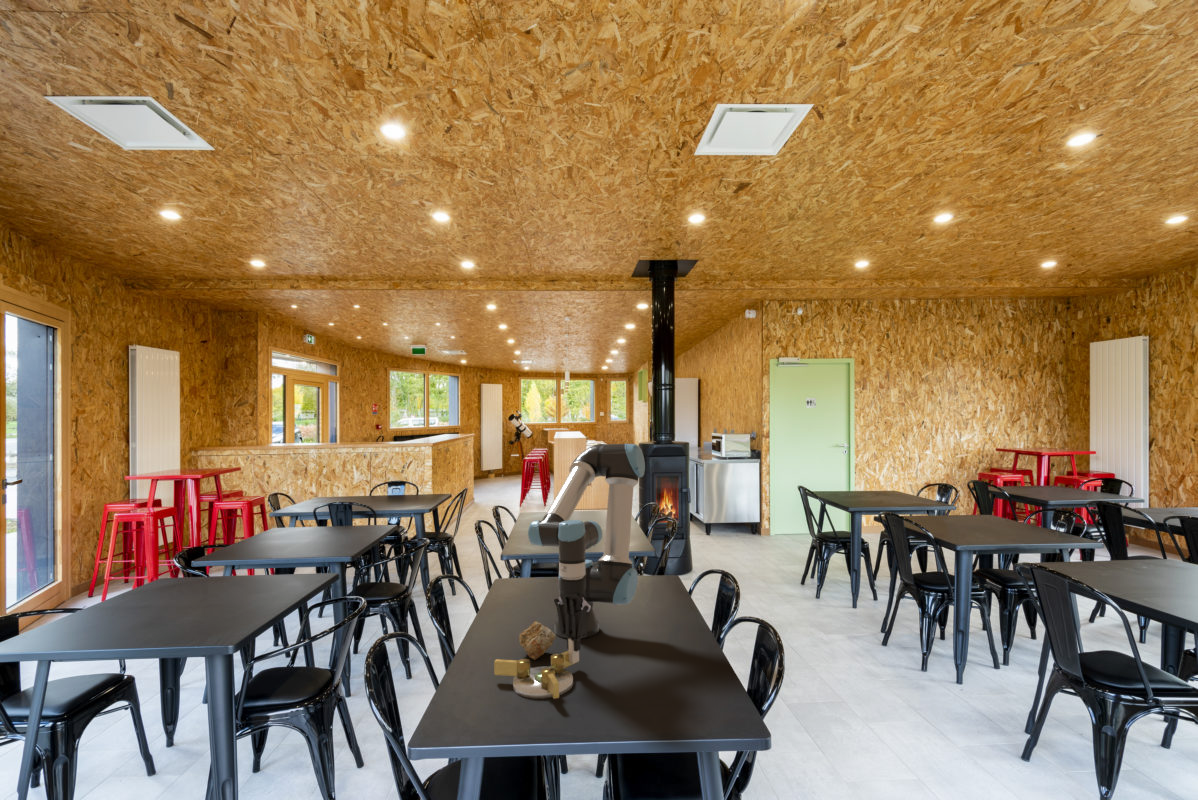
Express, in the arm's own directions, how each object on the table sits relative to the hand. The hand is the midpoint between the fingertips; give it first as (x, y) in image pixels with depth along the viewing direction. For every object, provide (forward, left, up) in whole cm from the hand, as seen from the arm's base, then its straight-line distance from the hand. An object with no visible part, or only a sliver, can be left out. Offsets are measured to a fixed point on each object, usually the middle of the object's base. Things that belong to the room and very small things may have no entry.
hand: (574, 661), depth 162 cm
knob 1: (-9, -15, -1) cm, 17 cm away
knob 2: (+6, -15, -1) cm, 16 cm away
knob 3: (-1, -2, -1) cm, 3 cm away
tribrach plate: (-1, -11, -3) cm, 11 cm away
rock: (-17, +1, -3) cm, 18 cm away
